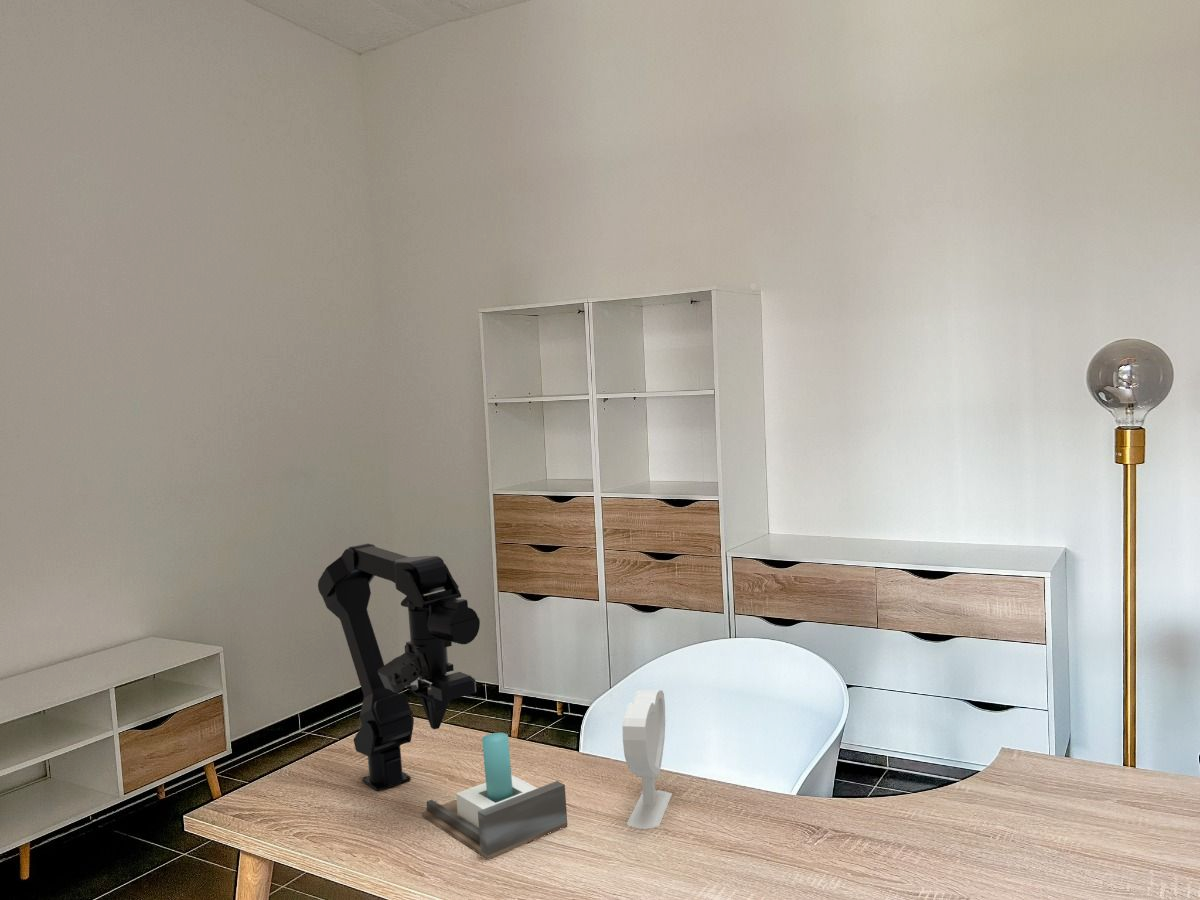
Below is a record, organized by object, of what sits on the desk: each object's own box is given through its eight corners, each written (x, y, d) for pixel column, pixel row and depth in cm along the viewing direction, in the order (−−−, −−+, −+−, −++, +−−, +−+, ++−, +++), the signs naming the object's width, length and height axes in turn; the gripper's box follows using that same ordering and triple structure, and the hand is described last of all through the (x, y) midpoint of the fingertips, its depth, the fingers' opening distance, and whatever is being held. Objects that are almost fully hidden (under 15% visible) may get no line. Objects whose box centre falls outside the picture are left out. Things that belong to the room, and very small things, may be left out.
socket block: (458, 823, 150) (456, 793, 150) (511, 802, 156) (509, 773, 156) (492, 844, 142) (490, 813, 142) (547, 822, 148) (545, 792, 148)
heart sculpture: (656, 832, 144) (649, 716, 143) (623, 830, 145) (616, 715, 144) (674, 788, 159) (668, 682, 158) (644, 787, 160) (638, 681, 159)
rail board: (422, 815, 155) (418, 776, 154) (497, 787, 164) (494, 750, 163) (488, 859, 139) (485, 815, 139) (567, 826, 148) (564, 784, 148)
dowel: (483, 821, 149) (476, 740, 148) (500, 810, 152) (493, 731, 151) (503, 826, 146) (496, 744, 145) (520, 815, 150) (513, 734, 149)
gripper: (357, 636, 158) (364, 728, 160) (410, 657, 144) (418, 758, 145) (417, 622, 165) (424, 710, 166) (474, 640, 151) (481, 737, 152)
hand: (435, 728), depth 157 cm, fingers closed
